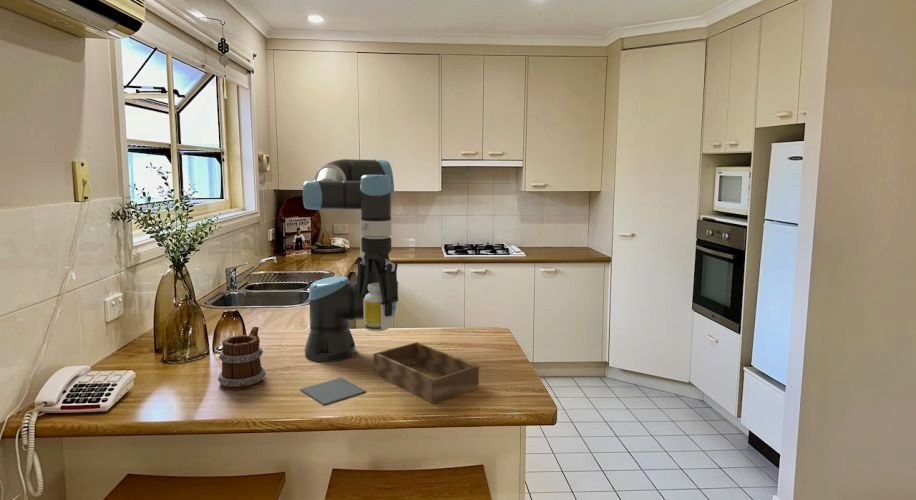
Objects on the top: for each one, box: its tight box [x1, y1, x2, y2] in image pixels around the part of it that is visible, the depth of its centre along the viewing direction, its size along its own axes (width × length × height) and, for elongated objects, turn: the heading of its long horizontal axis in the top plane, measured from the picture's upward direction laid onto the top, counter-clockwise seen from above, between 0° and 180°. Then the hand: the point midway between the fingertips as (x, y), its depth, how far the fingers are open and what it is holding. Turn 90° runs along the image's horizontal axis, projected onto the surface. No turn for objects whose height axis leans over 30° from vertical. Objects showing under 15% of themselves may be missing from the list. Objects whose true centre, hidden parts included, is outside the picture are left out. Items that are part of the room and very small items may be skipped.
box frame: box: [373, 341, 480, 405], centre depth 148 cm, size 26×15×6 cm, turn 42°
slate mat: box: [299, 377, 367, 406], centre depth 141 cm, size 12×12×1 cm
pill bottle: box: [364, 283, 389, 332], centre depth 142 cm, size 6×6×12 cm
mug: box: [217, 326, 267, 391], centre depth 147 cm, size 12×14×15 cm
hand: (377, 324), depth 143 cm, fingers closed on pill bottle, 6 cm apart
